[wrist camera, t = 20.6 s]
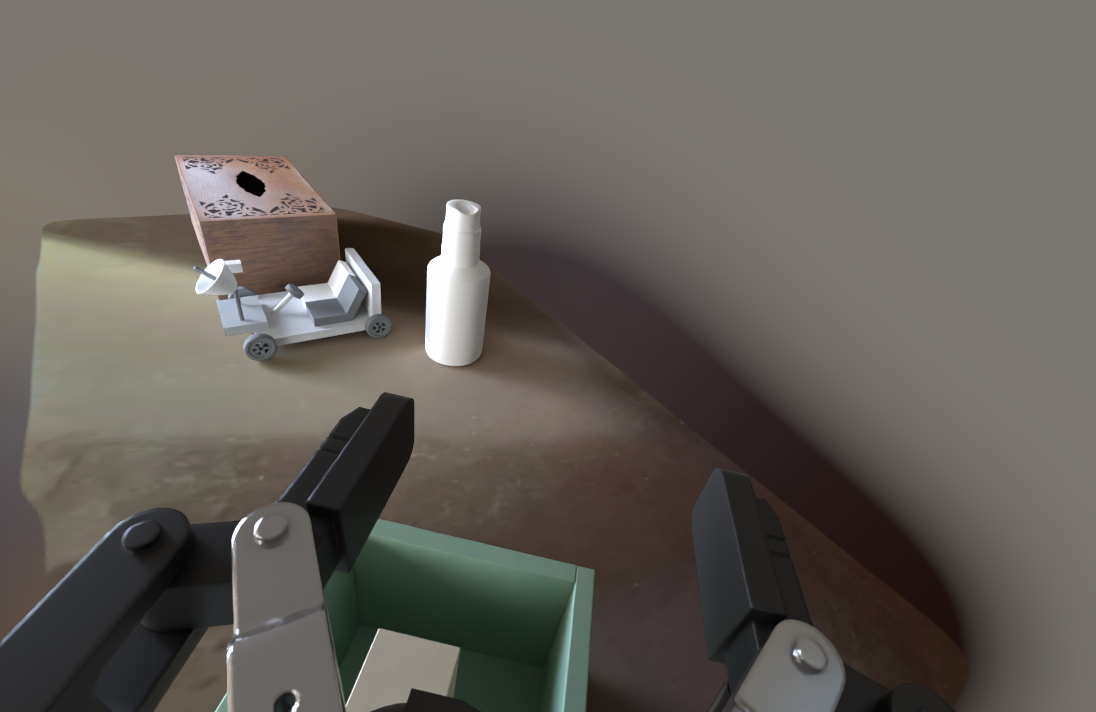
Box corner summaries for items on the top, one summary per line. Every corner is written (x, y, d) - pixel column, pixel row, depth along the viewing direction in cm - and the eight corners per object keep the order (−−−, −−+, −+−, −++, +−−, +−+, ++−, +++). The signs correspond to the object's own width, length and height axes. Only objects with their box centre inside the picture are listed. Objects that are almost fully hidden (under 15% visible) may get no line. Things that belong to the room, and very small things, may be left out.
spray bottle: (472, 332, 61) (485, 194, 51) (489, 363, 56) (507, 218, 46) (419, 338, 58) (421, 192, 48) (432, 371, 53) (439, 217, 43)
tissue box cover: (192, 222, 73) (174, 155, 67) (294, 217, 81) (285, 156, 75) (219, 301, 57) (199, 221, 52) (342, 284, 65) (336, 214, 60)
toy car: (192, 283, 42) (181, 233, 49) (217, 369, 47) (204, 313, 55) (390, 262, 52) (357, 223, 59) (392, 335, 57) (362, 292, 65)
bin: (557, 660, 31) (595, 569, 25) (531, 884, 23) (579, 830, 16) (353, 611, 31) (340, 509, 25) (254, 814, 23) (198, 736, 17)
